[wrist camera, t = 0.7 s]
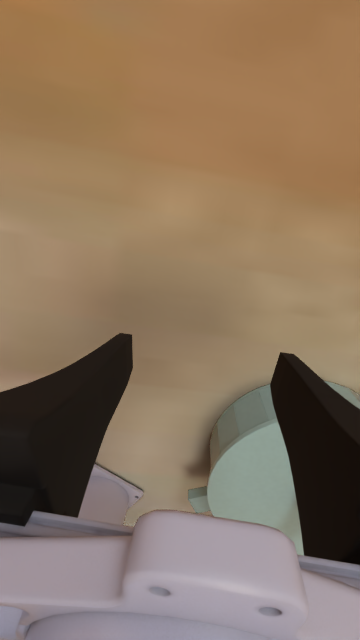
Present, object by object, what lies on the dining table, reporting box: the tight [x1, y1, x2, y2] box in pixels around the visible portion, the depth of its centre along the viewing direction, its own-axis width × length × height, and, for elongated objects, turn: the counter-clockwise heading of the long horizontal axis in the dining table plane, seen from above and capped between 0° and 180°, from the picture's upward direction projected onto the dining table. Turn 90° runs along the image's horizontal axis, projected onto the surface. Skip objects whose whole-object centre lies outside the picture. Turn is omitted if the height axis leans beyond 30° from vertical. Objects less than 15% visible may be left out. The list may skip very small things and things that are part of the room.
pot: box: [188, 381, 360, 513], centre depth 26 cm, size 18×23×5 cm
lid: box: [207, 418, 304, 556], centre depth 22 cm, size 19×19×5 cm
